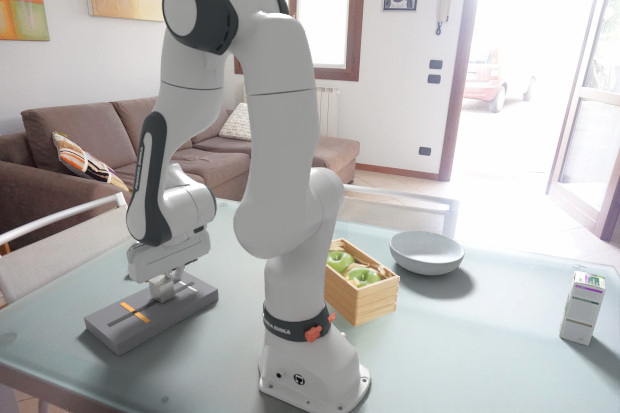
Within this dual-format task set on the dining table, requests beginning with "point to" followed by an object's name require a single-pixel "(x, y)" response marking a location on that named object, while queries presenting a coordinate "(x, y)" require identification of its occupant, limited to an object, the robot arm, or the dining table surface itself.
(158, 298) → the fader tab
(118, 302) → the fader console
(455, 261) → the serving bowl
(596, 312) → the syrup box
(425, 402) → the dining table surface
